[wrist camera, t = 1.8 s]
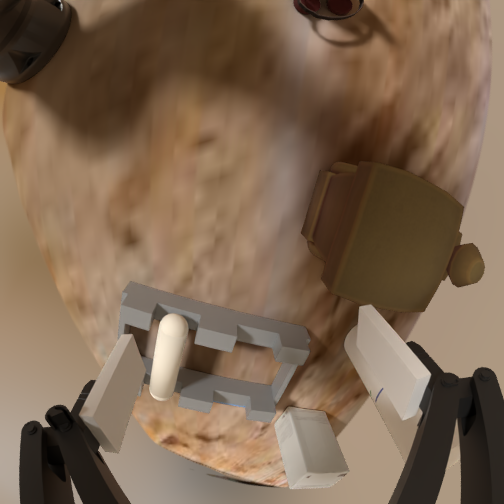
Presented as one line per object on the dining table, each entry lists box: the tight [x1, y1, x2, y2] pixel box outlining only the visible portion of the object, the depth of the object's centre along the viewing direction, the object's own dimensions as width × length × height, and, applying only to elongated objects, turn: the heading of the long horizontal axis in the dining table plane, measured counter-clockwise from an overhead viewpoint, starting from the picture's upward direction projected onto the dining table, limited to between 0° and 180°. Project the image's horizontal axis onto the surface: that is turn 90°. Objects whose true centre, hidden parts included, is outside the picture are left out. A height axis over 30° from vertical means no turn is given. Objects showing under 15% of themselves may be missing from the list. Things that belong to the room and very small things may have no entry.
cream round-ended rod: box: [149, 313, 189, 401], centre depth 34 cm, size 4×14×4 cm, turn 162°
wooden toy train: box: [301, 161, 485, 312], centre depth 27 cm, size 20×11×17 cm, turn 75°
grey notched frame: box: [118, 281, 311, 423], centre depth 36 cm, size 25×15×6 cm, turn 72°
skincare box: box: [274, 406, 349, 489], centre depth 39 cm, size 8×6×15 cm
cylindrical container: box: [344, 324, 460, 470], centre depth 29 cm, size 7×7×25 cm
